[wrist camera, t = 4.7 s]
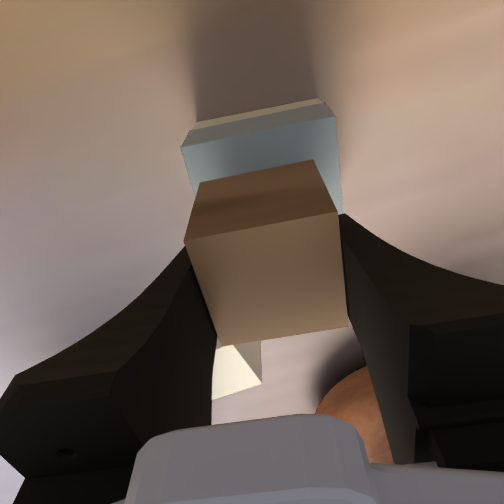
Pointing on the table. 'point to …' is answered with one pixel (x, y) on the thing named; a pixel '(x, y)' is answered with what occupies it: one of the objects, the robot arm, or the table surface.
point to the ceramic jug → (359, 413)
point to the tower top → (267, 146)
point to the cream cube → (236, 368)
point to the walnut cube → (268, 254)
